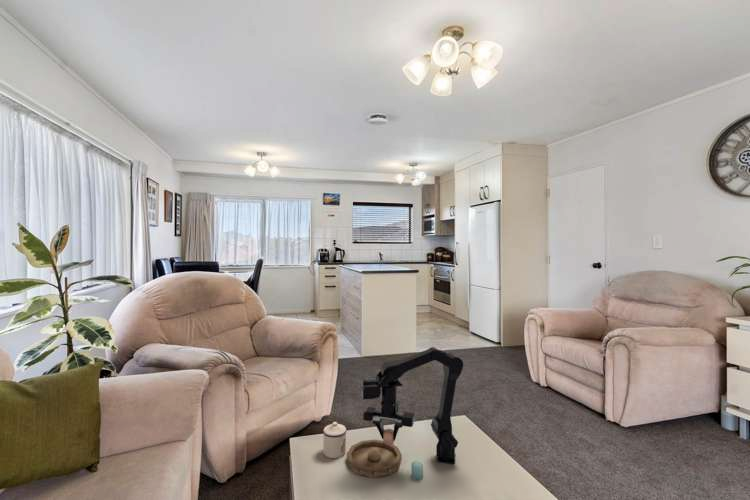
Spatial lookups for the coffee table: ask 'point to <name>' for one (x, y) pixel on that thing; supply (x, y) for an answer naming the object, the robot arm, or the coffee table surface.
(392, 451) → the ring tray
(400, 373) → the robot arm
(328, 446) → the teacup with lid
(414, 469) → the bead teal
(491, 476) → the coffee table surface
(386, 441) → the bead terracotta
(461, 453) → the coffee table surface
